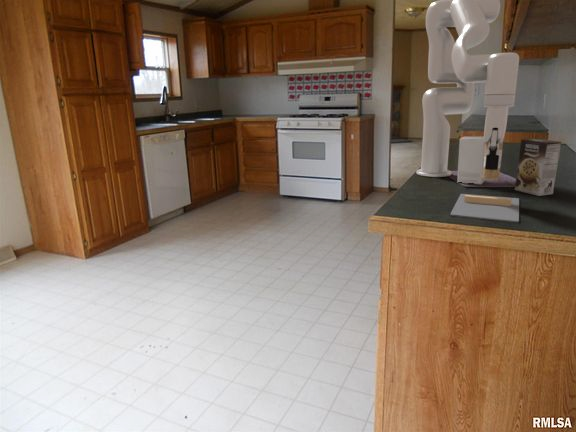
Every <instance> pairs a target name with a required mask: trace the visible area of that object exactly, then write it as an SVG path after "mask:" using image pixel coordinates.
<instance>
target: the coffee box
mask: <svg viewBox="0 0 576 432" xmlns="http://www.w3.org/2000/svg"><path fill="white" fill-rule="evenodd" d="M561 147H562V141H559V140H550V139H543V138H542V139H541V138H521V139H520V148H519V156H518V163H517V170H516V175H515V176H516V177H515V178H516V179H515V185H514V190H515V191H517V192H522V193H526V194H529V195H534V196H538V197H540V196H547V195H553V194H554V188H555V182H556V176H557V169H558V163H559V158H560V153H561Z"/></svg>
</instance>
